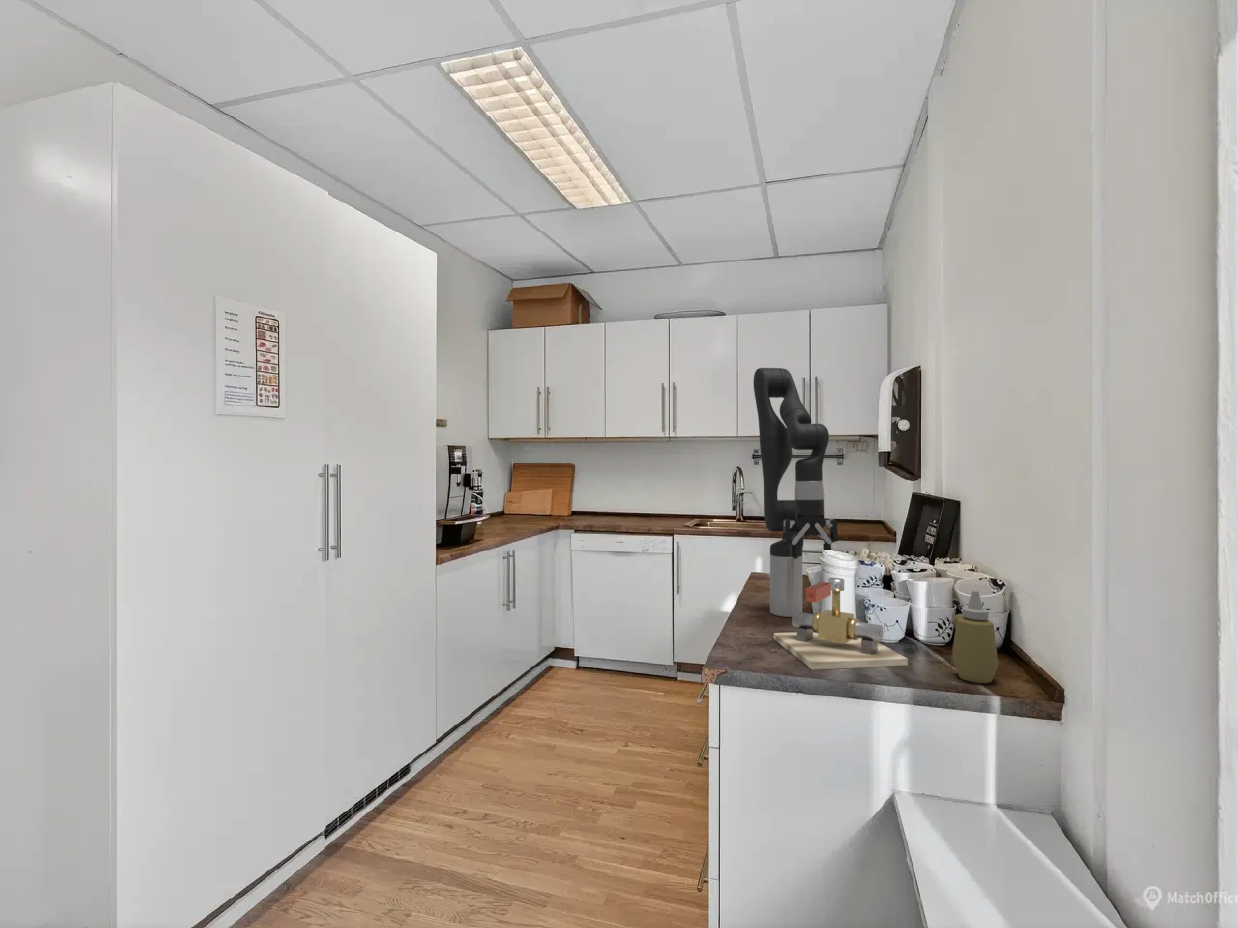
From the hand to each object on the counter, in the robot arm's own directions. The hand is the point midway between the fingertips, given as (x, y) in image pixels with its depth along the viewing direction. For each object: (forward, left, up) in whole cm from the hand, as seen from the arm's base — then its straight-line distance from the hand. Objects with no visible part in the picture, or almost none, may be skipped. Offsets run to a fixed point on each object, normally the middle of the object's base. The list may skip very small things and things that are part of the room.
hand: (810, 558), depth 160 cm
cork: (+32, +21, -19) cm, 43 cm away
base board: (+20, -3, -19) cm, 27 cm away
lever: (+25, -8, -4) cm, 26 cm away
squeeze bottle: (+40, +17, -19) cm, 47 cm away
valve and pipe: (+20, -3, -17) cm, 26 cm away
